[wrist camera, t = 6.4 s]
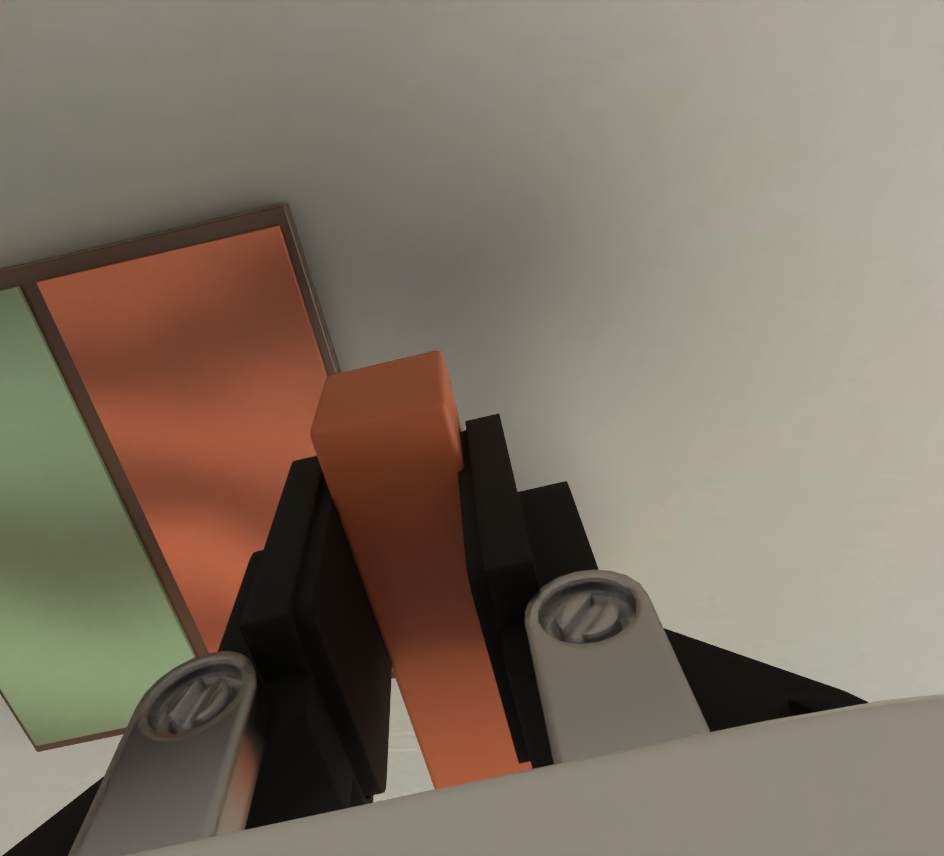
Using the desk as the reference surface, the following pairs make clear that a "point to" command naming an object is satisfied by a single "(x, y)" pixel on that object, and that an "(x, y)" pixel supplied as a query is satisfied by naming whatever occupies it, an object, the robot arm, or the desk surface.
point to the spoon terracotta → (415, 554)
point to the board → (144, 455)
